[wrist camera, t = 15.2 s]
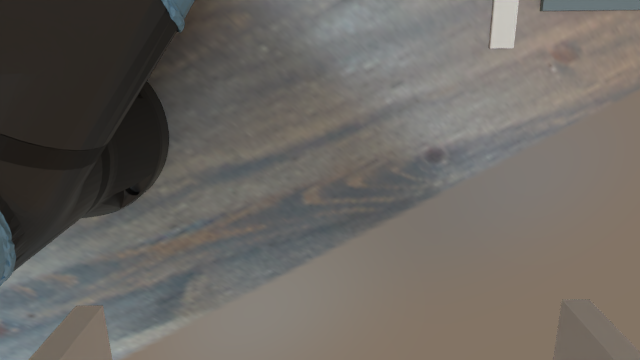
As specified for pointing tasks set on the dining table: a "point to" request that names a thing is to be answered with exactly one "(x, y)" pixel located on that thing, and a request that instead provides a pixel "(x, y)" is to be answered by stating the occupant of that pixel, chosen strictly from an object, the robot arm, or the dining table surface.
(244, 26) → the dining table surface
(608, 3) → the mat
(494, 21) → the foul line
